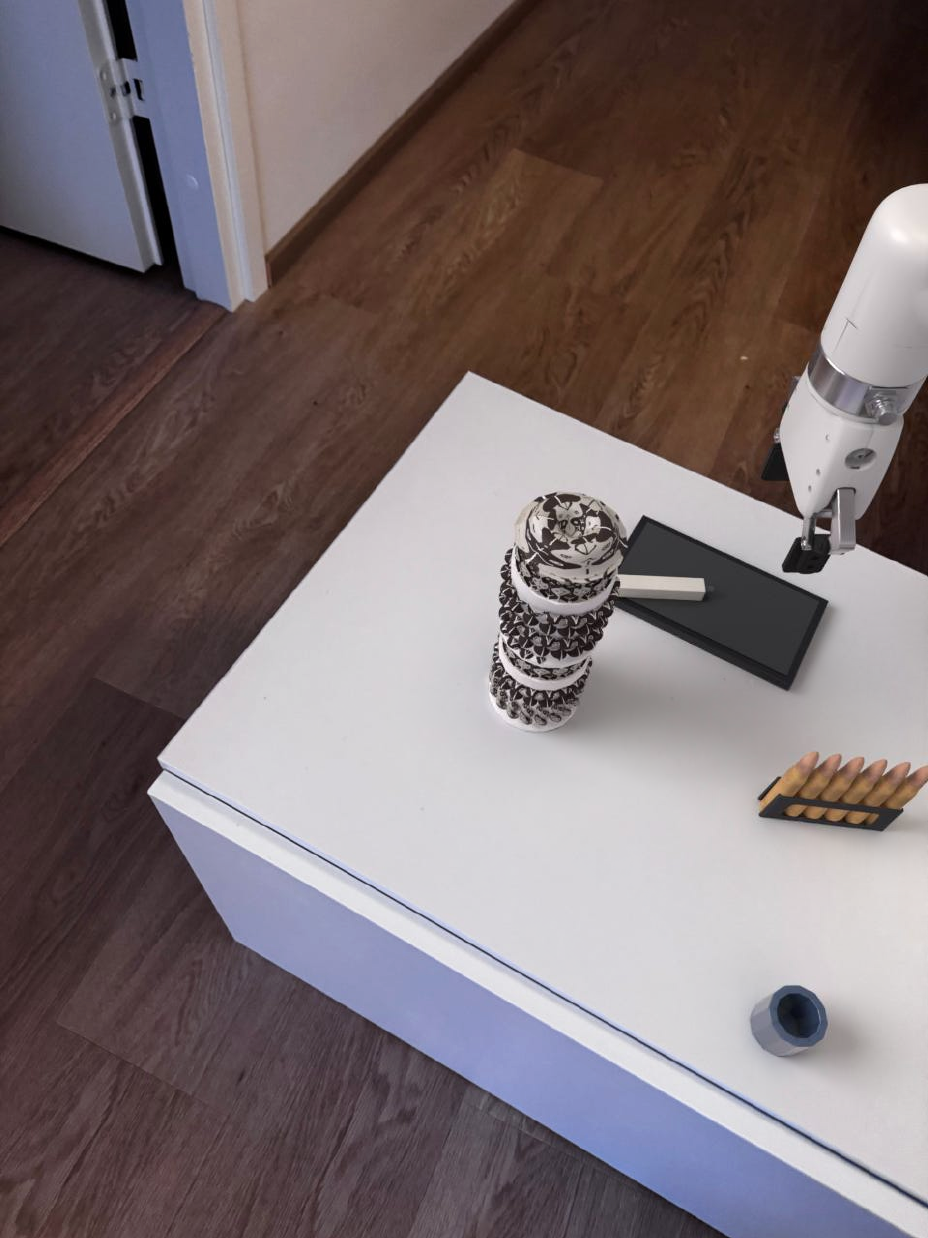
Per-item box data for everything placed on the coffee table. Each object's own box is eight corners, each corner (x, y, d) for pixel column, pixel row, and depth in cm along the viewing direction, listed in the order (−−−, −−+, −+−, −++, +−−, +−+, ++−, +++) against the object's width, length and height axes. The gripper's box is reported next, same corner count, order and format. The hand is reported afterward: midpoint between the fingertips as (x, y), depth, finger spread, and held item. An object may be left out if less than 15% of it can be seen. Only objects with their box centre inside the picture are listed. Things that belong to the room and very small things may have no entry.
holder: (797, 998, 76) (820, 984, 71) (808, 1057, 73) (833, 1046, 69) (744, 999, 75) (764, 985, 71) (754, 1057, 73) (775, 1047, 69)
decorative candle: (474, 724, 87) (496, 562, 66) (495, 638, 92) (521, 461, 71) (575, 747, 86) (629, 590, 65) (590, 659, 91) (646, 486, 70)
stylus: (714, 578, 93) (574, 571, 93) (716, 592, 92) (575, 585, 92) (709, 587, 95) (572, 581, 94) (711, 601, 94) (572, 595, 93)
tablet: (825, 606, 96) (829, 600, 95) (787, 691, 90) (791, 685, 89) (640, 520, 100) (643, 513, 99) (594, 596, 95) (596, 589, 94)
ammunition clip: (757, 818, 83) (805, 762, 73) (755, 798, 84) (803, 740, 74) (881, 833, 83) (947, 779, 73) (878, 813, 84) (943, 756, 74)
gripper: (955, 464, 62) (856, 609, 77) (888, 286, 72) (811, 445, 86) (840, 463, 62) (762, 608, 77) (787, 285, 71) (727, 445, 86)
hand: (788, 522), depth 81 cm, fingers open, 9 cm apart
